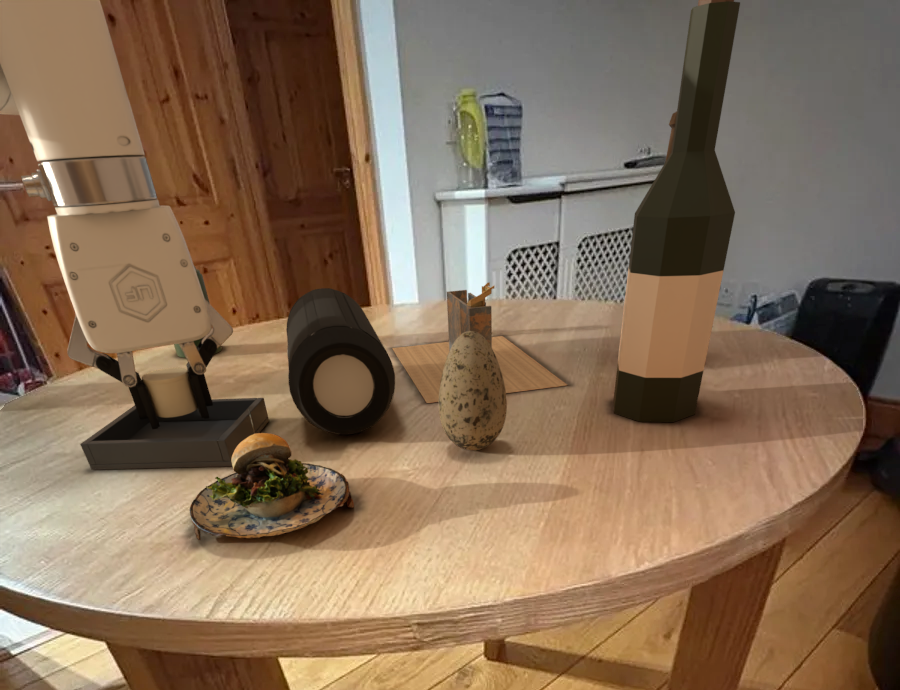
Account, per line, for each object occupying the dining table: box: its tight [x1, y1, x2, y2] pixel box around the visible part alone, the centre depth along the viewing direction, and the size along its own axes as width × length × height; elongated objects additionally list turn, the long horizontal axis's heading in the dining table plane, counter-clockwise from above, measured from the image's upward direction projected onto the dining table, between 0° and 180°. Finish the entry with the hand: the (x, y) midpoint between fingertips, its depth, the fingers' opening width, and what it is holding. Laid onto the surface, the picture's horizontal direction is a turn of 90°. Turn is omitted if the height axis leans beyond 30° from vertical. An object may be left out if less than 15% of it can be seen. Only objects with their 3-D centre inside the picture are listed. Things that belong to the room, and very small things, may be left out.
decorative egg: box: [438, 331, 508, 451], centre depth 51 cm, size 6×6×10 cm
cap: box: [141, 367, 198, 418], centre depth 56 cm, size 4×4×3 cm
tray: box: [79, 397, 270, 471], centre depth 58 cm, size 13×11×2 cm
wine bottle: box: [612, 0, 741, 423], centre depth 51 cm, size 8×8×30 cm
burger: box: [189, 410, 355, 541], centre depth 44 cm, size 12×12×8 cm
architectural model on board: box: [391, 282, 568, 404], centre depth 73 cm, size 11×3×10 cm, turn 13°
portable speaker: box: [286, 287, 396, 436], centre depth 63 cm, size 26×10×10 cm, turn 13°
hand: (179, 417), depth 57 cm, fingers closed on cap, 3 cm apart
